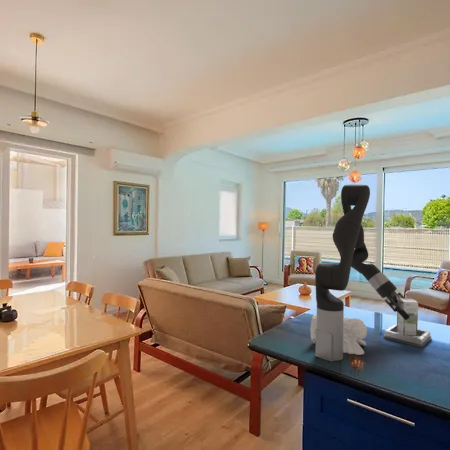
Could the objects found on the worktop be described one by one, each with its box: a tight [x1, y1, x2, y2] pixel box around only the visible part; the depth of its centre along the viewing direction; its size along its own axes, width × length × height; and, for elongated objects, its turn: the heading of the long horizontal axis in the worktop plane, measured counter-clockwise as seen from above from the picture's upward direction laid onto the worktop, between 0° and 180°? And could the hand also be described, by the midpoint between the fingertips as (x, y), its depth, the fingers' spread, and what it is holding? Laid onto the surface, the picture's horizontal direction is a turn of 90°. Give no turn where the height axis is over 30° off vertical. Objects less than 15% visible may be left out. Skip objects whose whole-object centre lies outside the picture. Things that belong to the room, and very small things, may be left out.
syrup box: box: [396, 298, 419, 336], centre depth 128 cm, size 6×6×14 cm
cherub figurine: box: [309, 313, 368, 356], centre depth 119 cm, size 13×12×20 cm
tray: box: [383, 323, 432, 348], centre depth 128 cm, size 14×14×3 cm
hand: (410, 316), depth 127 cm, fingers closed on syrup box, 8 cm apart
